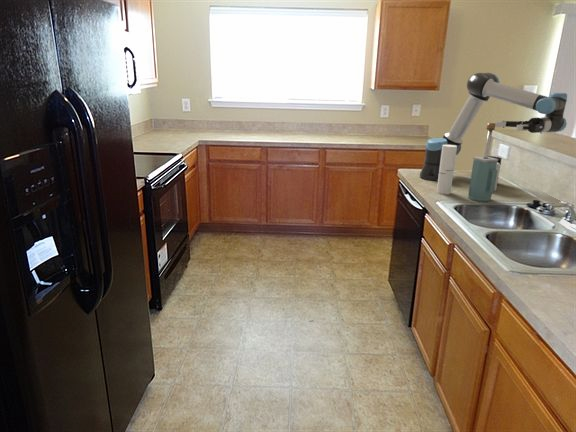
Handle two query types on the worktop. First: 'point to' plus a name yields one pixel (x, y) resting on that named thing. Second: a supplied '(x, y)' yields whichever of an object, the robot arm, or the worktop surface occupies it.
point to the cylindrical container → (446, 169)
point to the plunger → (489, 138)
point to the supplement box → (497, 174)
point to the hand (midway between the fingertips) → (505, 126)
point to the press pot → (482, 179)
